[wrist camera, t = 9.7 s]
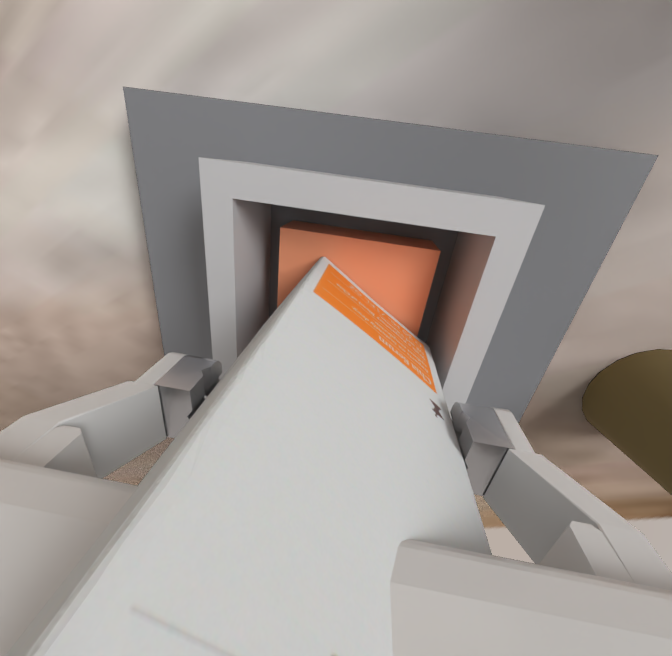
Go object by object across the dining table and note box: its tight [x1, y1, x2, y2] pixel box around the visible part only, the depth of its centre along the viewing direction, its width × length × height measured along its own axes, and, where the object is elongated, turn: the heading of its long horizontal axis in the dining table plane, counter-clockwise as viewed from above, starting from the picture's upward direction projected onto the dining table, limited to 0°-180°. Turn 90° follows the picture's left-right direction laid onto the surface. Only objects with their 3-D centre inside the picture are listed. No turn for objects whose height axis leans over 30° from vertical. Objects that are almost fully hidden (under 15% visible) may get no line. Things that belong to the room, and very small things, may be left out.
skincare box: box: [5, 257, 492, 656], centre depth 8 cm, size 6×4×12 cm
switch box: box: [123, 87, 658, 423], centre depth 14 cm, size 20×16×6 cm
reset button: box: [277, 220, 441, 336], centre depth 14 cm, size 6×8×2 cm
